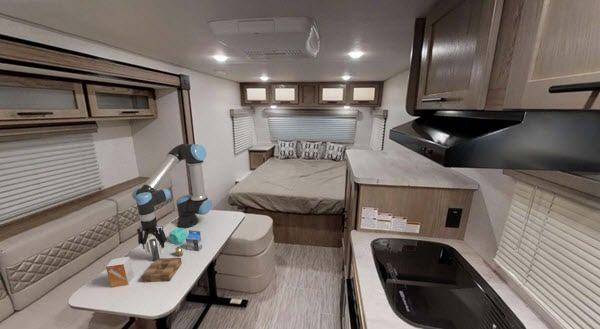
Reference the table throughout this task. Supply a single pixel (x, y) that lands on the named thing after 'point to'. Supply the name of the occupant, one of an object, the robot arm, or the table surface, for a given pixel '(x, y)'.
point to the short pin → (179, 251)
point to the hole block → (162, 270)
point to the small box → (120, 271)
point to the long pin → (154, 249)
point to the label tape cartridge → (194, 241)
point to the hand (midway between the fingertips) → (155, 252)
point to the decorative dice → (178, 235)
